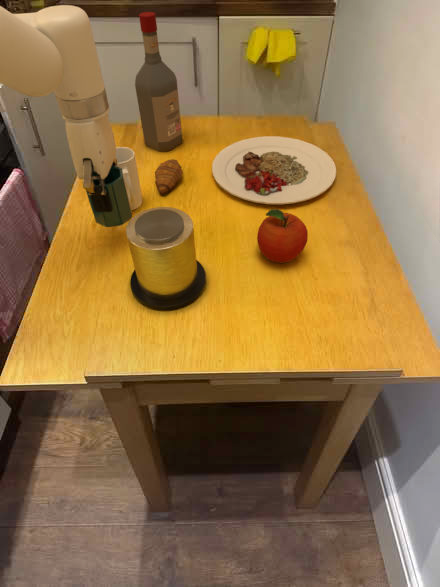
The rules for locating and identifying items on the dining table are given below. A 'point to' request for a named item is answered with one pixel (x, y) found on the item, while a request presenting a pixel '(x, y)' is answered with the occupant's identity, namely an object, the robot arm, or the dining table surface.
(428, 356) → the dining table surface
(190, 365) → the dining table surface
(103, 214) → the teal cup
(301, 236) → the fruit
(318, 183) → the plated food
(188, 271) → the towel holder
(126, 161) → the mug
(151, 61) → the liquor
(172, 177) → the croissant
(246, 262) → the dining table surface
